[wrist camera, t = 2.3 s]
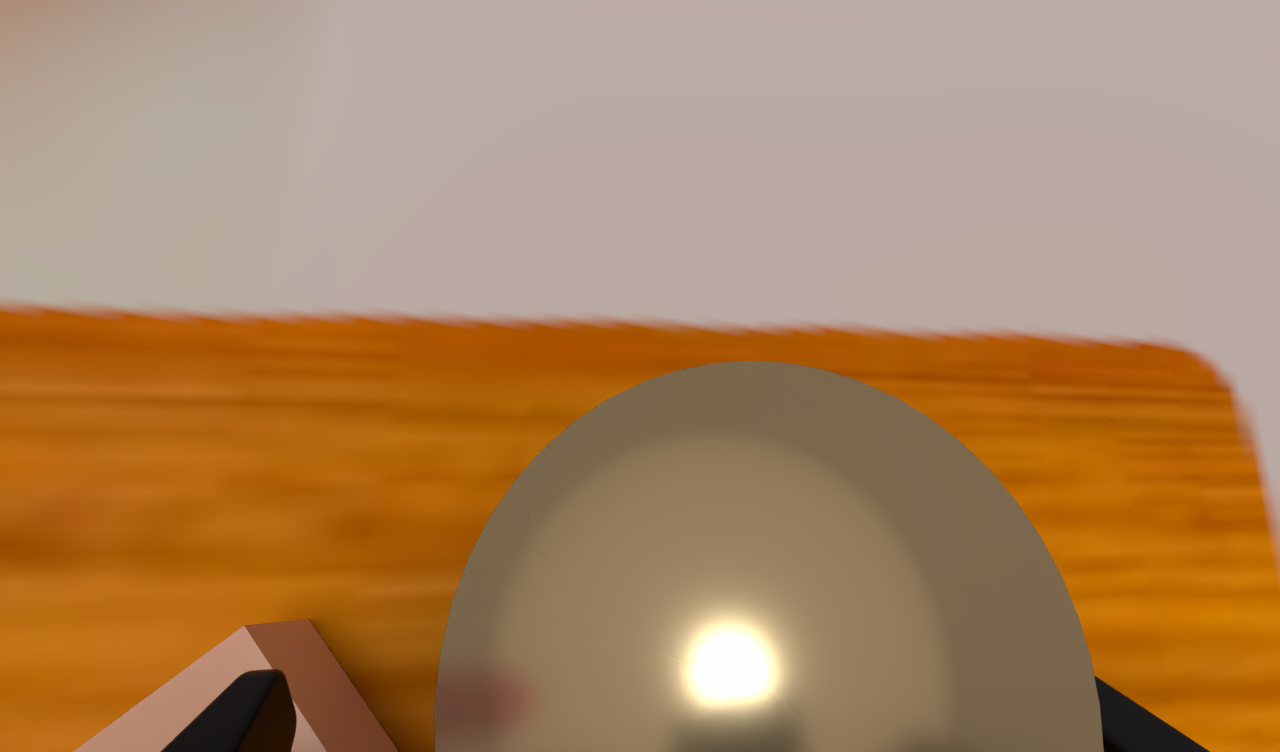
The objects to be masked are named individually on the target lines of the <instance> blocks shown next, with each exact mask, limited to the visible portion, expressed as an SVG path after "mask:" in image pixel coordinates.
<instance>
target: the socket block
mask: <svg viewBox="0 0 1280 752" xmlns="http://www.w3.org/2000/svg"><path fill="white" fill-rule="evenodd" d="M266 669H280V670H282V671H283V672H284V673H285V676H286V678H287V682H288V685H289V689H290V692H291V696H292V699H293V703H294V706H295V710H296V716H297V725H296V733H295V737H294V741H293V746H292V750H291V752H399V751H398V750H397V748H396V747H395V745H394V744H393V743H392V741H391V740H390V738H389V737H388V735H387V734H386V732H385V731H384V729H383V728H382V726H381V725H380V723H379V722H378V720H377V719H376V717H375V716H374V714H373V713H372V712H371V710H370V709H369V707H368V706H367V704H366V703H365V701H364V700H363V698H362V697H361V695H360V694H359V692H358V691H357V689H356V688H355V686H354V685H353V684H352V682H351V681H350V679H349V678H348V676H347V675H346V673H345V672H344V670H343V669H342V667H341V666H340V664H339V663H338V661H337V660H336V658H335V657H334V656H333V654H332V653H331V651H330V650H329V648H328V647H327V645H326V644H325V642H324V641H323V639H322V638H321V636H320V635H319V633H318V632H317V630H316V629H315V627H314V626H313V625H312V623H311V622H310V620H309V619H308V620H297V621H286V622H276V623H265V624H255V625H244V626H243V627H241V628H240V629H239V630H237V631H236V632H235V633H233V634H232V635H230V636H229V637H228V638H226V639H225V640H224V641H222V642H221V643H220V644H218V645H217V646H216V647H214V648H213V649H211V650H210V651H209V652H207V653H206V654H205V655H203V656H202V657H201V658H199V659H198V660H197V661H195V662H194V663H193V664H191V665H190V666H188V667H187V668H186V669H184V670H183V671H182V672H180V673H179V674H178V675H176V676H175V677H174V678H172V679H171V680H169V681H168V682H167V683H165V684H164V685H163V686H161V687H160V688H159V689H157V690H156V691H155V692H153V693H152V694H150V695H149V696H148V697H146V698H145V699H144V700H142V701H141V702H140V703H138V704H137V705H136V706H134V707H133V708H131V709H130V710H129V711H127V712H126V713H125V714H123V715H122V716H121V717H119V718H118V719H117V720H115V721H114V722H112V723H111V724H110V725H108V726H107V727H106V728H104V729H103V730H102V731H100V732H99V733H98V734H96V735H95V736H93V737H92V738H91V739H89V740H88V741H87V742H85V743H84V744H83V745H81V746H80V747H79V748H77V749H76V750H75V751H73V752H161V751H162V750H163V749H164V748H165V747H166V746H167V745H168V744H169V743H170V742H171V741H172V740H173V739H174V738H175V737H176V736H177V735H178V734H179V733H180V732H181V731H182V730H183V729H184V728H185V727H186V726H188V725H189V724H190V723H191V722H192V721H193V720H194V719H195V718H196V717H197V716H198V715H199V714H200V713H201V712H202V711H203V710H204V709H205V708H206V707H207V706H208V705H209V704H210V703H211V702H212V701H213V700H215V699H216V698H217V697H218V696H219V695H220V694H221V693H222V692H223V691H224V690H225V689H226V688H227V687H228V686H229V685H230V684H231V683H232V682H233V681H234V680H235V679H236V678H238V677H239V676H240V675H242V674H243V673H245V672H247V671H252V670H266Z"/></svg>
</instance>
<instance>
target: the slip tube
mask: <svg viewBox="0 0 1280 752" xmlns="http://www.w3.org/2000/svg"><path fill="white" fill-rule="evenodd" d="M435 752H1104V748H1103V736H1102V724H1101V712H1100V703H1099V698H1098V693H1097V687H1096V682H1095V677H1094V672H1093V667H1092V661H1091V657H1090V654H1089V651H1088V647H1087V644H1086V641H1085V637H1084V634H1083V631H1082V627H1081V624H1080V621H1079V617H1078V614H1077V612H1076V610H1075V607H1074V605H1073V602H1072V600H1071V598H1070V595H1069V593H1068V591H1067V588H1066V586H1065V583H1064V581H1063V579H1062V576H1061V574H1060V572H1059V570H1058V568H1057V566H1056V565H1055V563H1054V561H1053V559H1052V557H1051V555H1050V554H1049V552H1048V550H1047V548H1046V546H1045V544H1044V542H1043V541H1042V539H1041V537H1040V535H1039V534H1038V532H1037V531H1036V529H1035V528H1034V526H1033V525H1032V524H1031V522H1030V521H1029V519H1028V518H1027V516H1026V515H1025V513H1024V512H1023V510H1022V509H1021V507H1020V506H1019V505H1018V503H1017V502H1016V500H1015V499H1014V498H1013V497H1012V496H1011V494H1010V493H1009V492H1008V491H1007V490H1006V488H1005V487H1004V486H1003V485H1002V484H1001V483H1000V481H999V480H998V479H997V478H996V477H995V475H994V474H993V473H992V472H991V471H990V470H989V469H988V468H987V467H986V466H985V465H984V464H983V463H982V462H981V461H980V460H979V459H978V458H977V457H976V456H975V455H974V454H973V453H972V452H971V451H970V450H969V449H967V448H966V447H965V446H964V445H963V444H962V443H961V442H960V441H959V440H958V439H956V438H955V437H954V436H952V435H951V434H950V433H948V432H947V431H946V430H945V429H943V428H942V427H941V426H939V425H938V424H937V423H935V422H934V421H933V420H931V419H930V418H929V417H927V416H926V415H924V414H922V413H921V412H919V411H917V410H916V409H914V408H912V407H911V406H909V405H907V404H906V403H904V402H902V401H901V400H899V399H897V398H896V397H894V396H892V395H889V394H887V393H885V392H883V391H881V390H878V389H876V388H874V387H872V386H870V385H867V384H865V383H863V382H861V381H858V380H854V379H851V378H848V377H845V376H842V375H839V374H836V373H833V372H829V371H826V370H822V369H817V368H811V367H806V366H801V365H796V364H790V363H778V362H762V361H741V362H726V363H713V364H708V365H703V366H698V367H693V368H688V369H683V370H678V371H675V372H672V373H669V374H666V375H663V376H660V377H657V378H654V379H651V380H648V381H645V382H642V383H640V384H638V385H636V386H634V387H632V388H630V389H628V390H626V391H624V392H622V393H620V394H618V395H616V396H614V397H611V398H609V399H607V400H606V401H604V402H603V403H601V404H600V405H598V406H597V407H595V408H594V409H592V410H591V411H589V412H588V413H586V414H585V415H583V416H582V417H580V418H579V419H577V420H576V421H574V422H573V423H572V424H571V425H570V426H569V427H567V428H566V429H565V430H564V431H563V432H562V433H560V434H559V435H558V436H557V437H556V438H555V439H554V440H552V441H551V442H550V443H549V444H548V445H547V446H546V447H544V448H543V449H542V450H541V452H540V453H539V454H538V455H537V456H536V457H535V458H534V459H533V461H532V462H531V463H530V464H529V465H528V466H527V467H526V468H525V470H524V471H523V472H522V473H521V474H520V475H519V476H518V477H517V479H516V480H515V481H514V482H513V484H512V485H511V487H510V488H509V490H508V491H507V493H506V494H505V496H504V497H503V498H502V500H501V501H500V503H499V504H498V506H497V507H496V509H495V510H494V512H493V513H492V515H491V516H490V518H489V520H488V522H487V523H486V525H485V527H484V529H483V531H482V533H481V535H480V537H479V539H478V541H477V543H476V545H475V547H474V549H473V551H472V553H471V554H470V556H469V558H468V561H467V564H466V567H465V569H464V572H463V575H462V577H461V580H460V583H459V586H458V588H457V591H456V594H455V596H454V599H453V602H452V605H451V609H450V614H449V618H448V622H447V626H446V631H445V635H444V639H443V643H442V648H441V652H440V660H439V669H438V678H437V687H436V697H435Z"/></svg>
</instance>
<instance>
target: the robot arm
mask: <svg viewBox="0 0 1280 752" xmlns="http://www.w3.org/2000/svg"><path fill="white" fill-rule="evenodd" d="M1094 677H1095V682H1096V687H1097V693H1098V698H1099V703H1100V712H1101V724H1102V736H1103V748H1104V752H1210V751H1208V750H1207V749H1205V748H1204V747H1202V746H1201V745H1199V744H1198V743H1196V742H1195V741H1193V740H1192V739H1190V738H1189V737H1187V736H1185V735H1184V734H1182V733H1181V732H1179V731H1178V730H1176V729H1175V728H1173V727H1172V726H1170V725H1169V724H1167V723H1166V722H1164V721H1163V720H1161V719H1160V718H1158V717H1157V716H1155V715H1154V714H1152V713H1151V712H1149V711H1148V710H1146V709H1144V708H1143V707H1141V706H1140V705H1138V704H1137V703H1135V702H1134V701H1132V700H1131V699H1129V698H1128V697H1126V696H1125V695H1123V694H1122V693H1120V692H1119V691H1117V690H1116V689H1114V688H1113V687H1111V686H1110V685H1108V684H1107V683H1105V682H1104V681H1102V680H1100V679H1099V678H1097V677H1096V676H1094ZM296 725H297V716H296V710H295V706H294V703H293V699H292V696H291V692H290V689H289V685H288V682H287V678H286V676H285V673H284V672H283V671H282V670H280V669H266V670H252V671H247V672H245V673H243V674H242V675H240V676H239V677H238V678H236V679H235V680H234V681H233V682H232V683H231V684H230V685H229V686H228V687H227V688H226V689H225V690H224V691H223V692H222V693H221V694H220V695H219V696H218V697H217V698H216V699H215V700H213V701H212V702H211V703H210V704H209V705H208V706H207V707H206V708H205V709H204V710H203V711H202V712H201V713H200V714H199V715H198V716H197V717H196V718H195V719H194V720H193V721H192V722H191V723H190V724H189V725H188V726H186V727H185V728H184V729H183V730H182V731H181V732H180V733H179V734H178V735H177V736H176V737H175V738H174V739H173V740H172V741H171V742H170V743H169V744H168V745H167V746H166V747H165V748H164V749H163V750H162V751H161V752H291V750H292V746H293V741H294V737H295V733H296Z"/></svg>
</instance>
